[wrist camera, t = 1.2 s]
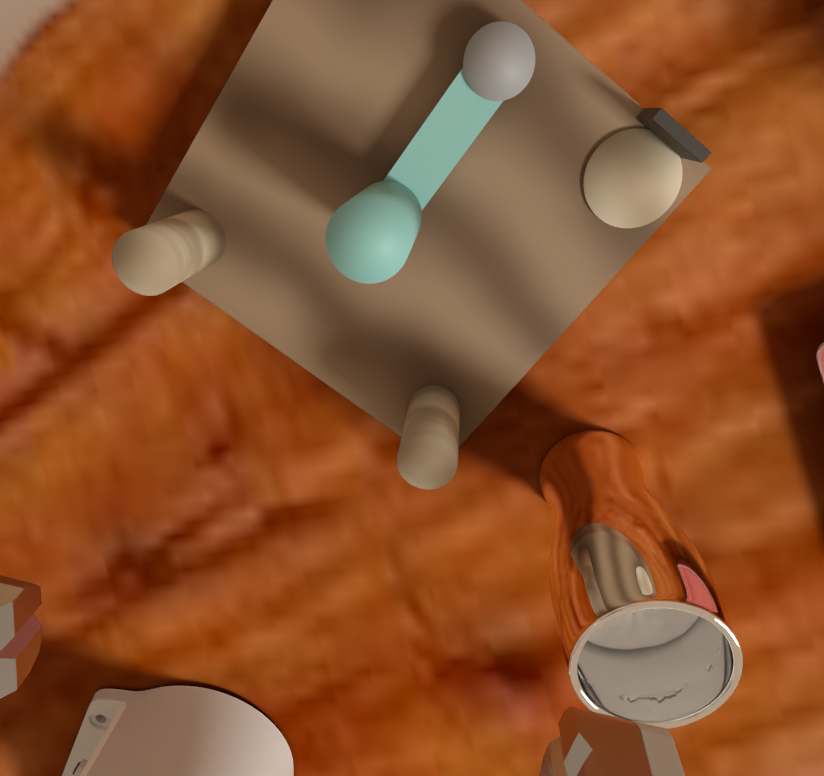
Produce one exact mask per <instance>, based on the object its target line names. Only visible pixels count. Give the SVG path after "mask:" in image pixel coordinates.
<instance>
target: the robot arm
mask: <svg viewBox="0 0 824 776" xmlns="http://www.w3.org/2000/svg"><path fill="white" fill-rule="evenodd" d="M41 604H42V602H41V590H40V587H39V586H37V585H35V584H32V583H28V582H24V581H20V580H17V579H13V578H9V577H5V576H1V575H0V699H1V698H2V697H4V696H6V695H8V694H10V693H12V692H14V691H16V690H17V689H18V688H19V687H20V685H21V684H22V682H23V681H24V680H25V678H26V677H27V676H28V674H29V673H30V671H31V668H32V666H33V664H34V662H35V660H36V658H37V656H38V654H39V650H40V646H41V641H42V625H41V623H40V622H39V621H38V619H37V618H36V617H35V616H34V614H33V613H34V612H35V611H36V610H37V608H38V607H39V606H40V605H41ZM559 729H560V737H558V738H556V739H554V740H553V741H551V742H549V745H548V747H547V749H546V752H545V754H544V757H543V761H542V767H541V772H540V776H685V775H684V772H683V768H682V765H681V762H680V759H679V756H678V753H677V749H676V746H675V743H674V740H673V737H672V735H671V733H670V732H669V731H668V730H667V728H662V727H658V726H653V725H649V724H645V723H640V722H636V721H631V720H628V719H624V718H619V717H615V716H610V715H605V714H601V713H596V712H592V711H587V710H583V709H578V708H573V707H569V708H568V709H566V710H565V711H564V713H563V715H562V717H561V719H560V721H559ZM62 776H294V769H293V758H292V754H291V751H290V748H289V746H288V744H287V742H286V740H285V738H284V737H283V735H282V734H281V732H280V731H279V730H278V729H277V727H276V726H275V725H274V724H273V723H272V722H271V721H270V720H269V719H268V718H267V717H266V716H264V715H263V714H262V713H261V712H259V711H258V710H256V709H255V708H253V707H252V706H250V705H249V704H247V703H245V702H243V701H241V700H239V699H237V698H235V697H233V696H230V695H228V694H225V693H222V692H219V691H215V690H212V689H207V688H202V687H196V686H165V687H159V688H154V689H150V690H145V691H129V690H121V689H101V690H98V691H97V692H96V693H95V695H94V696H93V698H92V700H91V702H90V704H89V707H88V709H87V712H86V714H85V717H84V720H83V722H82V725H81V727H80V730H79V732H78V735H77V738H76V740H75V743H74V745H73V748H72V750H71V753H70V756H69V758H68V761H67V763H66V766H65V768H64V771H63V774H62Z"/></svg>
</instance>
